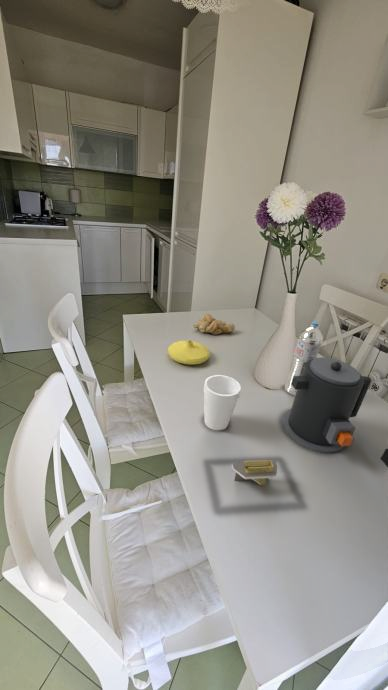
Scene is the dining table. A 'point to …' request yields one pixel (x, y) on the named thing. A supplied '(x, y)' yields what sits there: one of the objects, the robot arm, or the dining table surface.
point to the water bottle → (304, 353)
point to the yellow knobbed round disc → (188, 352)
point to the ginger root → (213, 325)
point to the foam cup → (220, 400)
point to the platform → (255, 470)
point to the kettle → (324, 403)
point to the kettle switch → (344, 438)
